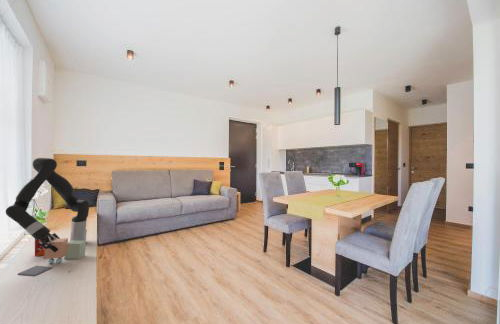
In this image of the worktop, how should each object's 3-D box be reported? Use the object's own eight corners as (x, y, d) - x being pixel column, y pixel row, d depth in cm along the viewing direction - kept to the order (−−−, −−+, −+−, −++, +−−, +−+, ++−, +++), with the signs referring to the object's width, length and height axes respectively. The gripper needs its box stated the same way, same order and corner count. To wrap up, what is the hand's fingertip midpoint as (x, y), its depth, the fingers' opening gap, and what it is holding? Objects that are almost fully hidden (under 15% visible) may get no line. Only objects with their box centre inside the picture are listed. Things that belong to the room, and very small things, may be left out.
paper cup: (38, 257, 144) (40, 235, 144) (29, 255, 145) (31, 234, 146) (51, 253, 152) (53, 232, 152) (42, 251, 153) (44, 231, 153)
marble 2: (58, 261, 140) (59, 256, 140) (63, 262, 139) (63, 257, 139) (54, 263, 137) (54, 258, 137) (58, 264, 136) (59, 259, 136)
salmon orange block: (44, 258, 134) (45, 242, 134) (50, 254, 140) (51, 238, 140) (61, 257, 136) (62, 241, 136) (67, 253, 142) (68, 238, 142)
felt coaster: (36, 266, 132) (36, 265, 132) (52, 267, 131) (52, 266, 131) (17, 274, 122) (17, 273, 122) (34, 276, 121) (34, 275, 121)
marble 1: (51, 262, 138) (51, 257, 139) (55, 262, 138) (56, 257, 138) (46, 264, 135) (46, 259, 136) (51, 264, 135) (51, 259, 135)
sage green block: (64, 259, 144) (65, 243, 144) (70, 255, 150) (71, 240, 150) (79, 259, 145) (80, 243, 145) (84, 255, 151) (85, 240, 151)
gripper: (35, 229, 129) (58, 248, 132) (50, 222, 143) (70, 240, 146) (23, 238, 128) (47, 258, 131) (39, 231, 141) (60, 249, 145)
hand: (59, 248), depth 138 cm, fingers closed on salmon orange block, 6 cm apart
